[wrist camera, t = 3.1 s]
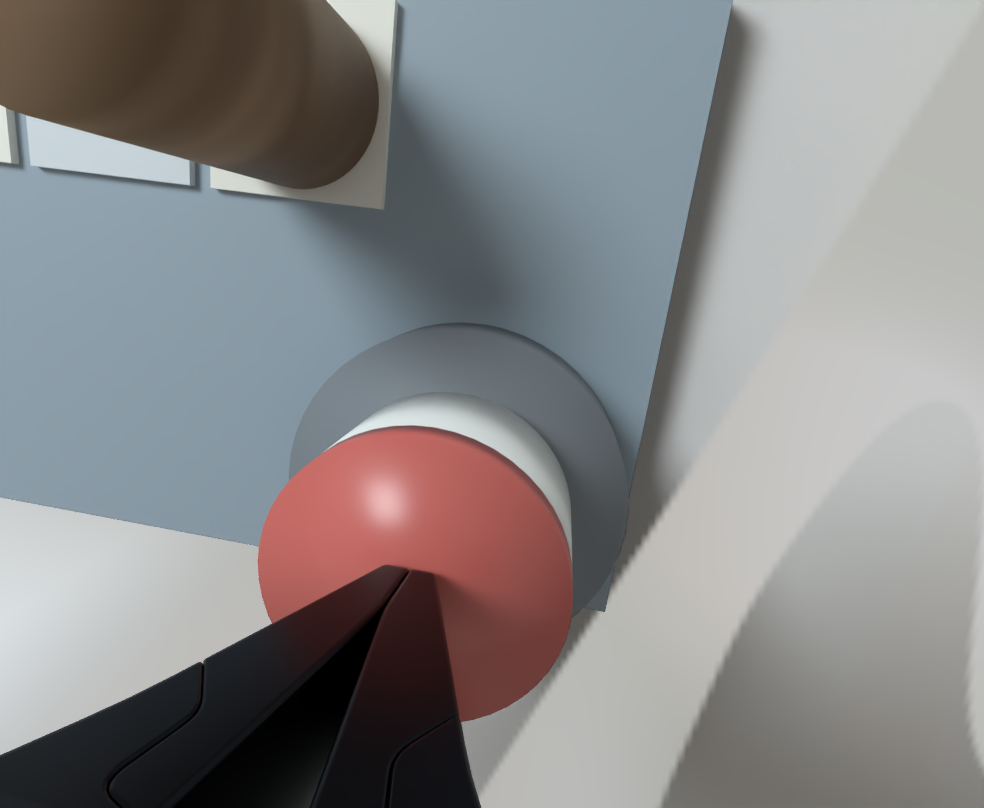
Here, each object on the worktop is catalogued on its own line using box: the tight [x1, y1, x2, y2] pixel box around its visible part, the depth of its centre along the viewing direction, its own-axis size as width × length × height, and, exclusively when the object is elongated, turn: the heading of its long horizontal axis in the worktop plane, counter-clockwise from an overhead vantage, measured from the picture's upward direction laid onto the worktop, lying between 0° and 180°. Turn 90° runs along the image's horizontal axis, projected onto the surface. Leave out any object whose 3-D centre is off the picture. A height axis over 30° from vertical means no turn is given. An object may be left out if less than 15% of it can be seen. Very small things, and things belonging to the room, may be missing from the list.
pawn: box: [0, 0, 379, 189], centre depth 9 cm, size 4×4×6 cm
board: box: [0, 0, 733, 618], centre depth 13 cm, size 15×24×2 cm, turn 83°
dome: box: [258, 392, 573, 722], centre depth 10 cm, size 5×5×3 cm
